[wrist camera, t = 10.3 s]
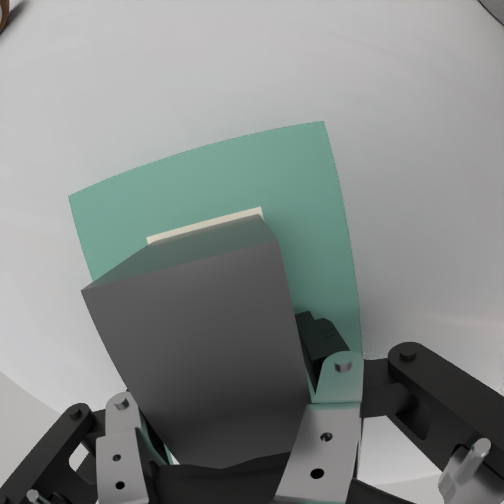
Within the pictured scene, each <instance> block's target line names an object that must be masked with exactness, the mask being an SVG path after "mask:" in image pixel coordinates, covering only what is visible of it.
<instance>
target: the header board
mask: <svg viewBox="0 0 504 504" xmlns="http://www.w3.org/2000/svg"><path fill="white" fill-rule="evenodd" d="M68 197H69V202H70V206H71V210H72V214H73V218H74V222H75V226H76V229H77V233H78V237H79V240H80V243H81V247H82V250H83V253H84V256H85V259H86V262H87V265H88V268H89V271H90V274H91V277H92V280H93V282H94V281H95V280H96V279H98V278H99V277H101V276H102V275H104V274H105V273H107V272H108V271H109V270H111V269H112V268H114V267H115V266H117V265H118V264H120V263H121V262H123V261H124V260H126V259H127V258H129V257H130V256H132V255H133V254H135V253H136V252H138V251H139V250H141V249H142V248H144V247H145V246H147V245H149V244H150V243H152V242H154V241H157V240H161V239H164V238H168V237H172V236H175V235H179V234H182V233H186V232H190V231H193V230H197V229H201V228H204V227H208V226H212V225H216V224H220V223H223V222H227V221H231V220H235V219H239V218H243V217H247V216H251V215H255V214H259V215H260V216H261V218H262V219H263V220H264V222H265V223H266V225H267V226H268V227H269V229H270V230H271V231H272V233H273V234H274V235H275V237H276V238H277V239H278V242H279V246H280V251H281V255H282V259H283V264H284V268H285V273H286V277H287V282H288V286H289V291H290V296H291V300H292V305H293V310H294V314H297V313H301V312H305V311H308V310H309V311H310V313H311V314H312V316H313V318H314V320H317V319H321V318H325V319H327V320H329V321H331V322H332V323H333V324H334V326H335V327H336V329H337V330H338V332H339V334H340V335H341V336H342V338H343V339H344V341H345V343H346V344H347V346H348V347H349V349H350V350H351V351H353V352H357V353H359V354H360V355H361V356H362V343H361V329H360V317H359V306H358V296H357V287H356V279H355V271H354V264H353V257H352V250H351V244H350V238H349V232H348V226H347V220H346V215H345V210H344V204H343V199H342V194H341V190H340V185H339V180H338V176H337V171H336V167H335V163H334V159H333V155H332V151H331V147H330V143H329V139H328V135H327V131H326V128H325V124H324V121H320V122H314V123H307V124H301V125H295V126H290V127H284V128H279V129H274V130H269V131H264V132H260V133H255V134H250V135H246V136H242V137H238V138H233V139H229V140H225V141H222V142H218V143H214V144H210V145H207V146H203V147H200V148H196V149H193V150H189V151H186V152H183V153H179V154H176V155H173V156H170V157H167V158H164V159H161V160H158V161H155V162H152V163H149V164H146V165H143V166H140V167H138V168H135V169H132V170H129V171H127V172H124V173H122V174H119V175H116V176H114V177H111V178H109V179H106V180H104V181H101V182H99V183H97V184H94V185H92V186H90V187H87V188H85V189H83V190H81V191H78V192H76V193H74V194H72V195H70V196H68ZM305 369H306V367H305ZM306 374H307V379H308V385H309V390H310V395H311V401H312V403H313V402H314V398H315V392H314V390H313V387H312V384H311V381H310V378H309V375H308V373H307V370H306Z"/></svg>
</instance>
